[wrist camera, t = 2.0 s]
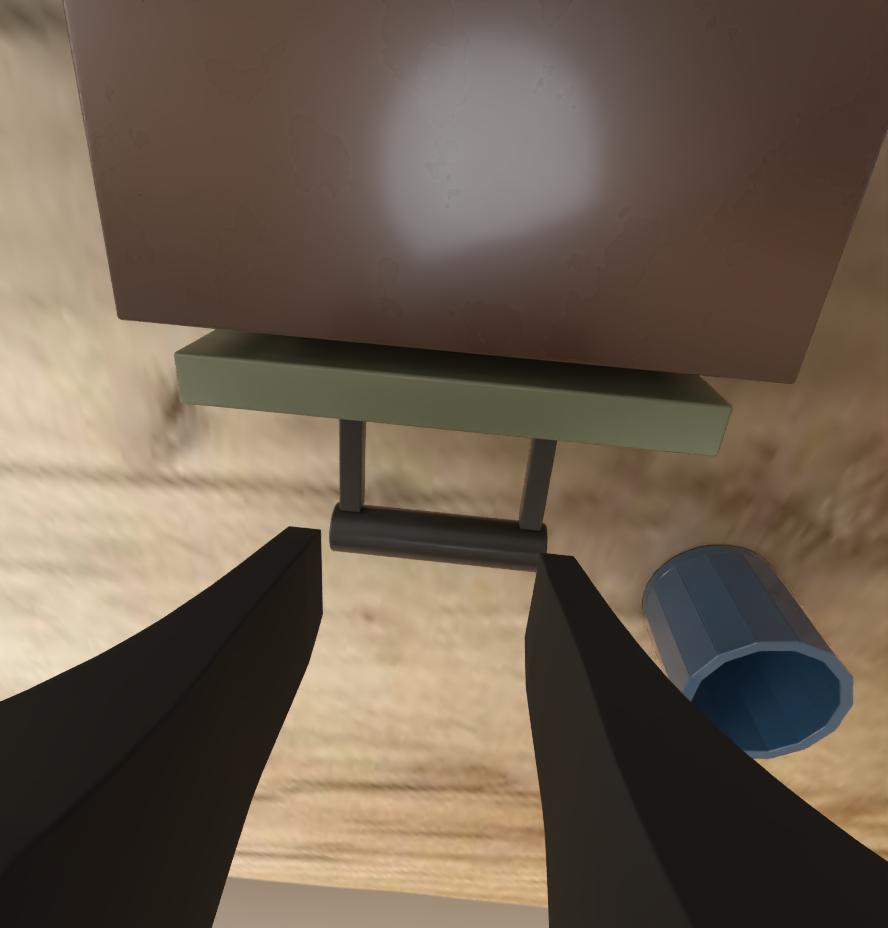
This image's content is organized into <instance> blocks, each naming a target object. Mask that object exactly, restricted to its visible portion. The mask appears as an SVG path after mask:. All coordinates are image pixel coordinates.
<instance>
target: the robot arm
mask: <svg viewBox="0 0 888 928" xmlns="http://www.w3.org/2000/svg"><path fill="white" fill-rule="evenodd" d="M322 615H323V603H322V556H321V530H319V529H310V528H300V527H291V526H289V527H288V528H286V529H285V530H283V531H282V532H281V533H280V534H278V535H277V536H276V537H274V538H273V539H272V540H270V541H269V542H268V543H266V544H265V545H264V546H263V547H261V548H260V549H259V550H257V551H256V552H255V553H254V554H252V555H251V556H250V557H248V558H247V559H246V560H245V561H243V562H242V563H241V564H239V565H238V566H237V567H235V568H234V569H233V570H231V571H230V572H229V573H227V574H226V575H225V576H223V577H222V578H221V579H219V580H218V581H217V582H215V583H214V584H213V585H211V586H210V587H208V588H207V589H205V590H204V591H202V592H201V593H199V594H198V595H197V596H195V597H194V598H192V599H191V600H189V601H188V602H186V603H185V604H183V605H182V606H180V607H179V608H177V609H176V610H174V611H173V612H171V613H170V614H168V615H167V616H165V617H164V618H162V619H161V620H159V621H157V622H156V623H154V624H153V625H151V626H149V627H147V628H146V629H144V630H142V631H141V632H139V633H137V634H136V635H134V636H132V637H130V638H129V639H127V640H125V641H123V642H121V643H120V644H118V645H116V646H114V647H112V648H111V649H109V650H107V651H105V652H103V653H101V654H100V655H98V656H96V657H94V658H92V659H90V660H88V661H86V662H84V663H82V664H80V665H78V666H75V667H73V668H71V669H69V670H67V671H65V672H63V673H61V674H59V675H57V676H55V677H53V678H51V679H49V680H47V681H45V682H42V683H40V684H38V685H36V686H34V687H32V688H30V689H28V690H26V691H23V692H21V693H19V694H17V695H14V696H12V697H10V698H7V699H5V700H3V701H0V928H212V925H213V922H214V919H215V915H216V912H217V909H218V905H219V902H220V899H221V895H222V893H223V889H224V886H225V883H226V879H227V876H228V873H229V870H230V866H231V863H232V860H233V857H234V854H235V851H236V847H237V844H238V841H239V838H240V835H241V832H242V829H243V826H244V822H245V819H246V816H247V813H248V810H249V807H250V804H251V801H252V798H253V796H254V793H255V790H256V788H257V785H258V782H259V780H260V777H261V775H262V772H263V770H264V767H265V765H266V763H267V760H268V758H269V756H270V753H271V751H272V749H273V746H274V744H275V742H276V739H277V737H278V735H279V732H280V730H281V728H282V725H283V723H284V721H285V718H286V716H287V714H288V711H289V709H290V707H291V704H292V702H293V700H294V697H295V695H296V693H297V690H298V688H299V685H300V683H301V681H302V678H303V676H304V674H305V671H306V669H307V666H308V664H309V661H310V658H311V654H312V651H313V647H314V644H315V641H316V637H317V633H318V630H319V626H320V623H321V619H322ZM525 674H526V692H527V700H528V707H529V715H530V722H531V730H532V737H533V744H534V751H535V758H536V766H537V773H538V780H539V787H540V794H541V802H542V810H543V820H544V830H545V845H546V866H547V887H548V911H549V928H888V861H886V860H885V859H883V858H882V857H880V856H879V855H877V854H876V853H874V852H873V851H871V850H870V849H868V848H867V847H866V846H864V845H863V844H861V843H860V842H859V841H857V840H856V839H854V838H853V837H852V836H850V835H849V834H848V833H846V832H845V831H844V830H842V829H841V828H840V827H838V826H837V825H836V824H834V823H833V822H832V821H830V820H829V819H828V818H826V817H825V816H824V815H822V814H821V813H820V812H818V811H817V810H816V809H814V808H813V807H812V806H810V805H809V804H808V803H806V802H805V801H804V800H803V799H801V798H800V797H799V796H797V795H796V794H795V793H794V792H792V791H791V790H790V789H789V788H787V787H786V786H785V785H784V784H782V783H781V782H780V781H779V780H777V779H776V778H775V777H774V776H772V775H771V774H770V773H769V772H768V771H767V770H765V769H764V768H763V767H762V766H761V765H760V764H758V763H757V762H756V761H755V760H754V759H753V758H751V757H750V756H749V755H748V754H747V753H745V752H744V751H743V750H742V749H741V748H740V747H738V746H737V745H736V744H735V743H734V742H733V741H732V740H731V739H729V738H728V737H727V736H726V735H725V734H724V733H723V732H722V731H721V730H720V729H718V728H717V727H716V726H715V725H714V724H713V723H712V722H711V721H710V720H709V719H708V718H707V717H706V716H705V715H704V714H703V713H702V712H701V711H700V710H699V709H698V708H697V707H696V706H695V705H694V704H693V703H692V702H691V701H690V700H689V699H688V698H687V697H686V696H685V695H684V694H683V693H682V692H681V691H680V690H679V689H678V688H677V687H676V686H675V685H674V684H673V683H672V682H671V681H670V680H669V679H668V678H667V677H666V675H665V674H664V673H663V672H662V671H661V670H660V669H659V667H658V666H657V665H656V664H655V663H654V662H653V661H652V660H651V658H650V657H649V656H648V655H647V654H646V653H645V651H644V650H643V649H642V648H641V647H640V645H639V644H638V643H637V642H636V640H635V639H634V638H633V637H632V635H631V634H630V633H629V631H628V630H627V629H626V628H625V626H624V625H623V624H622V623H621V621H620V620H619V619H618V617H617V616H616V615H615V613H614V612H613V611H612V609H611V608H610V607H609V605H608V604H607V603H606V601H605V600H604V598H603V597H602V596H601V594H600V593H599V591H598V590H597V589H596V587H595V586H594V584H593V583H592V582H591V580H590V579H589V577H588V576H587V574H586V573H585V571H584V570H583V569H582V567H581V566H580V564H579V563H578V562H577V560H576V559H575V558H574V556H566V555H557V554H547V553H540V558H539V563H538V569H537V574H536V579H535V585H534V590H533V596H532V601H531V606H530V612H529V617H528V622H527V628H526V633H525Z"/></svg>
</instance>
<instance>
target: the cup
mask: <svg viewBox="0 0 888 928" xmlns="http://www.w3.org/2000/svg"><path fill="white" fill-rule="evenodd" d="M642 607H643V614H644V617H645V620H646V623H647V628H648V632H649V635H650V638H651V641H652V644H653V646H654V649H655V652H656V655H657V658H658V661H659V664H660V666H661V669H662V672H663V673H664V674H665V675H666V677H667V678H668V679H669V680H670V681H671V682H672V683H673V684H674V685H675V686H676V687H677V688H678V689H679V690H680V691H681V692H682V693H683V694H684V695H685V696H686V697H687V698H688V699H689V700H690V701H691V702H692V703H693V704H694V705H695V706H696V707H697V708H698V709H699V710H700V711H701V712H702V713H703V714H704V715H705V716H706V717H707V718H708V719H709V720H710V721H711V722H712V723H713V724H714V725H715V726H716V727H717V728H718V729H720V730H721V731H722V732H723V733H724V734H725V735H726V736H727V737H728V738H729V739H731V740H732V741H733V742H734V743H735V744H736V745H737V746H738V747H740V748H741V749H742V750H743V751H744V752H745V753H747V754H748V755H749V756H750V757H751V758H753V759H769V758H775V757H778V756H782V755H786V754H789V753H793V752H797V751H800V750H804V749H805V748H808V747H810V746H811V745H813V744H815V743H816V742H818V741H819V740H821V739H822V738H824V737H825V736H827V735H829V734H830V733H832V732H833V731H835V729H837V727H838V726H839V725H840V723H841V722H842V720H843V719H844V717H845V716H846V714H847V713H848V711H849V710H850V708H851V707H852V705H853V677H852V675H851V673H850V672H849V670H848V669H847V668H846V666H845V665H844V664H843V662H842V661H841V659H840V658H839V657H838V655H837V654H836V653H835V651H834V650H833V649H832V647H831V646H830V644H829V643H828V642H827V640H826V639H825V638H824V636H823V635H822V633H821V632H820V631H819V629H818V628H817V627H816V625H815V624H814V622H813V621H812V620H811V618H810V617H809V616H808V614H807V613H806V611H805V610H804V609H803V607H802V606H801V605H800V603H799V602H798V601H797V599H796V598H795V596H794V595H793V594H792V592H791V591H790V590H789V588H788V587H787V585H786V584H785V583H784V581H783V580H782V579H781V578H780V577H779V575H778V574H777V573H776V571H775V570H774V569H773V567H772V566H771V565H770V564H769V563H768V562H767V561H766V560H765V559H764V558H762V557H761V556H759V555H758V554H756V553H754V552H752V551H749V550H747V549H744V548H740V547H735V546H728V545H713V546H705V547H700V548H696V549H692V550H690V551H687V552H684V553H682V554H680V555H678V556H676V557H674V558H673V559H671V560H670V561H668V562H667V563H666V564H664V565H663V566H662V567H661V568H660V569H659V570H658V571H657V572H656V573H655V574H654V575H653V577H652V578H651V579H650V581H649V583H648V585H647V587H646V589H645V592H644V596H643V604H642Z"/></svg>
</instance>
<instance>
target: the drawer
mask: <svg viewBox="0 0 888 928" xmlns="http://www.w3.org/2000/svg"><path fill="white" fill-rule="evenodd" d="M174 358H175V365H176V373H177V380H178V387H179V395H180V401H181V403H185V404H195V405H205V406H216V407H226V408H236V409H246V410H256V411H266V412H276V413H286V414H296V415H306V416H316V417H326V418H336V419H339V435H340V502H338V503H337V504H336V505H335V507H334V510H333V513H332V518H331V523H330V532H329V542H330V548H331V550H333V551H339V552H349V553H358V554H368V555H377V556H387V557H396V558H405V559H415V560H424V561H434V562H443V563H453V564H462V565H471V566H481V567H490V568H500V569H509V570H519V571H528V572H537V569H538V563H539V558H540V553H547V527H546V524H544V523H542V521H543V516H544V510H545V505H546V499H547V494H548V488H549V483H550V478H551V472H552V467H553V461H554V456H555V450H556V445H557V441H567V442H577V443H587V444H597V445H607V446H617V447H627V448H637V449H647V450H657V451H667V452H677V453H687V454H697V455H707V456H717V454H718V452H719V449H720V446H721V443H722V440H723V437H724V434H725V430H726V427H727V424H728V421H729V418H730V415H731V412H732V406H731V405H730V404H729V403H728V402H727V401H726V400H725V399H724V398H723V397H721V396H720V395H719V394H718V393H717V392H716V391H715V390H714V389H713V388H712V387H711V386H710V385H709V384H708V383H707V382H706V381H704V380H703V379H702V378H701V377H700V376H699V375H692V374H682V373H672V372H661V371H651V370H640V369H630V368H619V367H609V366H599V365H588V364H578V363H567V362H557V361H546V360H536V359H525V358H515V357H505V356H494V355H484V354H473V353H463V352H452V351H442V350H432V349H421V348H411V347H400V346H390V345H379V344H369V343H359V342H348V341H338V340H327V339H317V338H306V337H296V336H286V335H275V334H265V333H254V332H244V331H233V330H223V329H216V330H214V331H212V332H211V333H209V334H207V335H205V336H203V337H202V338H200V339H198V340H196V341H195V342H193V343H191V344H189V345H187V346H186V347H184V348H182V349H180V350H178V351H177V352H175V354H174ZM366 422H376V423H386V424H396V425H406V426H416V427H426V428H436V429H446V430H456V431H466V432H476V433H486V434H497V435H507V436H517V437H527V438H531V444H530V450H529V456H528V463H527V469H526V475H525V481H524V488H523V494H522V500H521V506H520V513H519V521H517V520H507V519H498V518H488V517H478V516H469V515H459V514H449V513H440V512H430V511H421V510H411V509H401V508H392V507H382V506H372V505H363V504H364V494H365V440H366Z"/></svg>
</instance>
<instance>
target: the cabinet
mask: <svg viewBox="0 0 888 928" xmlns="http://www.w3.org/2000/svg"><path fill="white" fill-rule="evenodd" d="M62 1H63V6H64V12H65V18H66V24H67V29H68V35H69V41H70V47H71V52H72V58H73V64H74V69H75V75H76V81H77V87H78V92H79V98H80V104H81V109H82V115H83V121H84V127H85V132H86V138H87V144H88V150H89V155H90V161H91V167H92V172H93V178H94V184H95V190H96V195H97V201H98V207H99V212H100V218H101V224H102V230H103V235H104V241H105V247H106V253H107V258H108V264H109V270H110V275H111V281H112V287H113V293H114V298H115V304H116V310H117V315H118V318H119V319H121V320H129V321H139V322H150V323H160V324H171V325H181V326H192V327H202V328H213V329H223V330H233V331H244V332H254V333H265V334H275V335H286V336H296V337H306V338H317V339H327V340H338V341H348V342H359V343H369V344H379V345H390V346H400V347H411V348H421V349H432V350H442V351H452V352H463V353H473V354H484V355H494V356H505V357H515V358H525V359H536V360H546V361H557V362H567V363H578V364H588V365H599V366H609V367H619V368H630V369H640V370H651V371H661V372H672V373H682V374H692V375H703V376H713V377H724V378H734V379H745V380H755V381H765V382H776V383H786V384H792V383H794V382H795V381H796V378H797V375H798V372H799V370H800V367H801V364H802V362H803V359H804V356H805V353H806V351H807V348H808V345H809V342H810V340H811V337H812V334H813V332H814V329H815V326H816V323H817V321H818V318H819V315H820V312H821V310H822V307H823V304H824V302H825V299H826V296H827V293H828V291H829V288H830V285H831V283H832V280H833V277H834V274H835V272H836V269H837V266H838V263H839V261H840V258H841V255H842V253H843V250H844V247H845V244H846V242H847V239H848V236H849V233H850V231H851V228H852V225H853V223H854V220H855V217H856V214H857V212H858V209H859V206H860V204H861V201H862V198H863V195H864V193H865V190H866V187H867V184H868V182H869V179H870V176H871V174H872V171H873V168H874V165H875V163H876V160H877V157H878V155H879V152H880V149H881V146H882V144H883V141H884V138H885V135H886V133H887V130H888V0H62Z"/></svg>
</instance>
